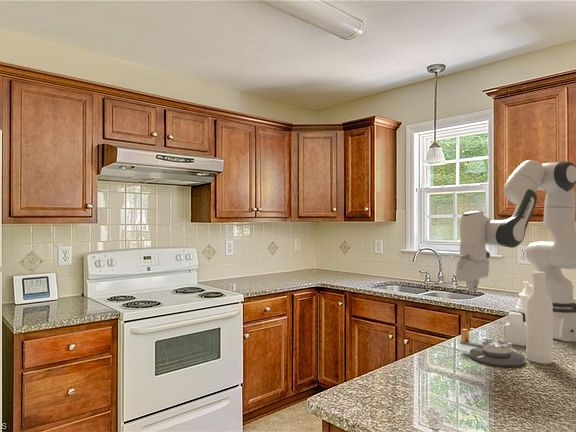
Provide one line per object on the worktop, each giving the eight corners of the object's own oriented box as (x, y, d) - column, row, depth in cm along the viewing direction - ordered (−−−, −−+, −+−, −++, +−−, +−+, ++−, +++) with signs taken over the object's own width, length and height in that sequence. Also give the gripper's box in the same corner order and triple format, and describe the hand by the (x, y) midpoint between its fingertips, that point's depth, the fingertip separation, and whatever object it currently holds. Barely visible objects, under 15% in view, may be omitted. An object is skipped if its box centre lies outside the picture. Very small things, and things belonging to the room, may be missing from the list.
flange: (515, 353, 154) (515, 348, 154) (532, 369, 138) (532, 363, 138) (465, 350, 158) (465, 345, 158) (475, 365, 141) (475, 360, 141)
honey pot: (519, 321, 204) (519, 283, 205) (512, 315, 217) (512, 279, 217) (549, 322, 201) (549, 284, 202) (540, 316, 214) (540, 280, 214)
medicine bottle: (508, 339, 173) (508, 309, 173) (528, 342, 168) (528, 311, 168) (504, 343, 167) (504, 312, 167) (524, 346, 163) (524, 314, 163)
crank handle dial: (515, 353, 148) (515, 335, 148) (505, 359, 141) (505, 340, 141) (467, 343, 160) (466, 326, 160) (455, 348, 154) (455, 331, 154)
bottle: (522, 359, 147) (521, 271, 147) (531, 355, 152) (531, 270, 152) (548, 365, 141) (547, 274, 141) (556, 360, 146) (556, 272, 146)
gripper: (468, 256, 151) (468, 295, 151) (492, 253, 165) (492, 289, 165) (451, 255, 156) (451, 293, 156) (475, 252, 170) (475, 287, 170)
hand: (472, 291), depth 160 cm, fingers closed
